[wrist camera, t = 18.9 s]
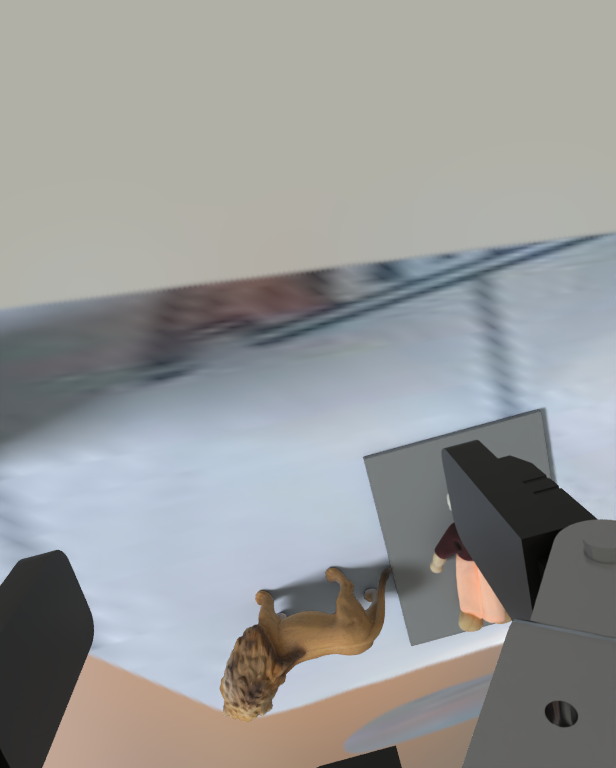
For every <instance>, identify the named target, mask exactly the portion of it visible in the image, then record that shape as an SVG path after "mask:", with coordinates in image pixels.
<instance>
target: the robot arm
mask: <svg viewBox="0 0 616 768" xmlns="http://www.w3.org/2000/svg"><path fill="white" fill-rule="evenodd" d="M441 457H442V463H443V469H444V474H445V479H446V484H447V489H448V494H449V500H450V505H451V510H452V515H453V519H454V523H455V526H456V529H457V532H458V535H459V537H460V539H461V541H462V543H463V545H464V547H465V548H466V550H467V551H468V553H469V555H470V556H471V558H472V559H473V561H474V562H475V564H476V565H477V567H478V569H479V570H480V572H481V573H482V575H483V576H484V578H485V579H486V581H487V582H488V584H489V586H490V587H491V589H492V590H493V592H494V593H495V595H496V596H497V598H498V600H499V601H500V603H501V604H502V606H503V607H504V609H505V610H506V612H507V613H508V615H509V617H510V618H511V620H512V623H511V625H510V627H509V630H508V632H507V635H506V638H505V641H504V644H503V647H502V650H501V653H500V656H499V659H498V662H497V665H496V668H495V671H494V674H493V677H492V680H491V683H490V686H489V689H488V692H487V695H486V698H485V701H484V704H483V706H482V709H481V712H480V715H479V718H478V721H477V724H476V727H475V730H474V733H473V736H472V739H471V742H470V745H469V748H468V751H467V754H466V757H465V760H464V763H463V766H462V768H616V521H615V520H602V519H601V520H598V519H597V518H595V517H594V516H593V515H592V514H591V513H590V512H589V511H587V510H586V509H585V508H584V507H583V506H582V505H580V504H579V503H578V502H577V501H576V500H575V499H573V498H572V497H571V496H570V495H569V494H568V493H566V492H565V491H564V490H563V489H562V488H560V489H559V486H558V485H557V484H556V483H555V482H554V481H552V480H551V479H550V478H547V476H546V475H545V474H544V473H543V472H542V471H541V470H540V469H538V468H537V467H536V466H535V465H534V464H533V463H531V462H528V461H525V460H522V459H519V458H516V457H514V456H511V455H509V456H505V457H501V458H497V457H496V456H495V455H494V454H493V453H492V452H491V451H490V450H489V449H487V448H486V447H485V446H484V445H483V444H482V443H481V442H480V441H479V440H473V441H469V442H465V443H462V444H458V445H454V446H450V447H447V448H443V449H442V451H441ZM93 636H94V624H93V618H92V614H91V611H90V608H89V606H88V604H87V601H86V599H85V597H84V594H83V592H82V590H81V587H80V585H79V583H78V580H77V578H76V576H75V573H74V571H73V569H72V566H71V564H70V562H69V560H68V558H67V556H66V555H65V554H64V552H62V551H60V550H55V551H51V552H47V553H44V554H40V555H36V556H32V557H28V558H25V559H21V560H20V561H18V562H17V564H16V565H15V566H14V568H13V569H12V571H11V572H10V573H9V575H8V576H7V577H6V579H5V580H4V582H3V583H2V584H1V586H0V768H42V767H43V764H44V762H45V760H46V757H47V754H48V752H49V750H50V747H51V744H52V742H53V740H54V737H55V734H56V732H57V730H58V727H59V725H60V722H61V720H62V717H63V715H64V712H65V710H66V707H67V705H68V702H69V700H70V697H71V695H72V692H73V690H74V687H75V685H76V682H77V680H78V677H79V675H80V673H81V670H82V668H83V665H84V663H85V660H86V658H87V655H88V653H89V650H90V648H91V645H92V642H93ZM317 768H402V767H401V764H400V760H399V756H398V752H397V748H396V746H392V747H388V748H385V749H381V750H377V751H374V752H370V753H366V754H363V755H359V756H355V757H352V758H348V759H345V760H341V761H337V762H334V763H330V764H326V765H323V766H319V767H317Z"/></svg>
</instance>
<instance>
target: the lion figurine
mask: <svg viewBox="0 0 616 768" xmlns="http://www.w3.org/2000/svg"><path fill="white" fill-rule="evenodd" d="M391 572H392V567H389V568H387V569H384V570H383V572H382V574H381V577H380V580H379V589H378V590H377V589H368V590H366V591H365V594H364V599H366V600H367V601H369V602H372V604H371V605H370V607H369V608H368V609H367V610H364V609H363V607H362V606H361V604H360V603H359V602H358V600H357V599H356V597H355V596H354V594H353V587H354V586H353V583H352V582H351V581H350V580H348V579H347V578H346V577H345V576H344V575H343V573H342V572H341V571H340V570H338V569H336V568H329V569H327V571H326V572H325V574H326V578H327V580H328V581H329V582H338V583H339V584H340V586H341V589H340V592H339V595H338V598H337V600H336V612H335V613H334V614H328V613H324V612H319V611H304V612H299V613H296V614H293V615H291V616H288V617H287V616H286V615H285V614H284V613H279V614H276V613H275V611H274V600H273V598H272V597H271V595H270V594H269V593H268V592H266V591H259V592H258V593H257V594H256V598H255V600H256V602H257V604H258V605H261V609H260V613H259V623H258V625H254V626H252V627H249V628H247V629H246V630H245V631H244V633H243V636H242V637H239V638H238V639H237V641H236V643H235V646H234V649H233V650H232V653H231V655H230V658H229V660H228V661H227V665H226V669H225V673H224V677H223V678H222V679H221V685H220V691H221V694H222V696H223V698H224V707H223V713H224V715H225V716H230V715H231V717H232V718H233V719H239V720H241V721H246V722H249V721H251V720H252V719H254V718H257V716H258V715H264V714H266V713H267V712H268V711H270V710H271V709H272V706H273V705H272V699H273V698H274V696H275V694H276V692H277V690H278V687H279V686H280V685H281V684H283V683H284V682H285V678H286V674H287V673H288V672H289V671H290V670H291V669H292V668H293V667H294V666H295V665H297V664H299V663H301V662H304V661H306V660H310V659H315V658H318V657H321V656H324V655H329V654H342V655H357V654H361V653H363V652H364V651H366V650H368V649H369V648H370V647H371V646H372V645H373V642H374V640H375V639H376V638H377V636H378V635H379V633H380V631H381V629H382V626H383V623H384V617H385V597H384V592H385V585H386V581H387V579H388V578H389V575H390V573H391Z"/></svg>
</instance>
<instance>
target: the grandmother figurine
mask: <svg viewBox="0 0 616 768" xmlns="http://www.w3.org/2000/svg"><path fill="white" fill-rule="evenodd" d="M447 503H448V505H449V509H450V510H451V505H450V500H449V494H447ZM451 511H452V510H451ZM456 553H457V555H456V579H457V590H458V597H459V603H460V609H461V610H460V614H459V622H458V623H459V626H460V628H461V629H462V630H464V631H467V632H474V631H478V630H480V629H481V628H482V627H483V624H484V622H483V619H484V620H486V621H487V622H490V623H497V624H504V623H507V622H510V621H511V618H510V617H509V615H508V613H507V612H506V610H505V609H504V607H503V606H502V604H501V603H500V601H499V600H498V598H497V596H496V595H495V593H494V592H493V590H492V589H491V587H490V586H489V584H488V582H487V581H486V579H485V578H484V576H483V575H482V573H481V572H480V570H479V569H478V567H477V565H476V564H475V562H474V561H473V559H472V558H471V556H470V555H469V553H468V551H467V550H466V548H465V547H464V545H463V543H462V541H461V539H460V537H459V535H458V532H457V529H456V526H455V523H452V524H451V525H450V526H449V527H448V529H447V530H446V532H445V533H444V535H443V536H442V538H441V540H440V541H439V543H438V544H437V546H436V547H435V552H434V555H433V561H432V562H431V564H430V569H431V570H432V572H434V573H440V572H442V570H443V565H444V564H445V562H446V559H447V558H448V557H449V556H452V555H454V554H456Z"/></svg>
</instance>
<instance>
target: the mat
mask: <svg viewBox="0 0 616 768" xmlns="http://www.w3.org/2000/svg"><path fill="white" fill-rule="evenodd" d="M473 440H479V441H480V442H481V443H482V444H483V445H484V446H485V447H486V448H487V449H489V450H490V451H491V452H492V453H493V454H494V455H495V456H496V457H497V458H501V457H505V456H509V455H511V456H514V457H516V458H519V459H522V460H525V461H528V462H531V463H533V464H534V465H535V466H536V467H537V468H538V469H540V470H541V471H542V472H543V473H544V474H545V475H546V476H547V478H550V479H551V475H550V468H549V462H548V455H547V448H546V441H545V435H544V428H543V421H542V414H541V411H540V410H534V411H530V412H527V413H523V414H519V415H516V416H512V417H508V418H505V419H501V420H497V421H494V422H490V423H486V424H483V425H479V426H475V427H472V428H468V429H464V430H461V431H457V432H453V433H450V434H446V435H442V436H439V437H435V438H431V439H428V440H424V441H420V442H417V443H413V444H409V445H405V446H402V447H398V448H394V449H391V450H387V451H383V452H380V453H376V454H372V455H369V456H365V457H363V458H364V462H365V466H366V470H367V474H368V478H369V482H370V486H371V490H372V494H373V498H374V502H375V506H376V510H377V513H378V517H379V521H380V525H381V529H382V533H383V537H384V541H385V545H386V549H387V553H388V557H389V561H390V565H391V567H392V573H393V577H394V581H395V585H396V588H397V592H398V596H399V600H400V604H401V608H402V612H403V616H404V620H405V624H406V628H407V632H408V636H409V640H410V643H411V646H414V645H418V644H422V643H425V642H429V641H433V640H436V639H440V638H444V637H448V636H451V635H455V634H459V633H462V632H466V631H464V630H462V629H461V628H460V626H459V623H458V622H459V614H460V610H461V609H460V603H459V597H458V590H457V579H456V555H457V553H456V554H454V555H452V556H449V557H448V558H447V559H446V562H445V564H444V565H443V570H442V572H440V573H434V572H432V570H431V569H430V564H431V562H432V561H433V555H434V552H435V547H436V546H437V544H438V543H439V541H440V540H441V538H442V536H443V535H444V533H445V532H446V530H447V529H448V527H449V526H450V525H451V524H452V523H454V519H453V515H452V511H451V510H450V509H449V505H448V503H447V494H448V489H447V484H446V479H445V474H444V469H443V463H442V457H441V451H442V449H443V448H447V447H450V446H454V445H458V444H462V443H465V442H469V441H473ZM483 622H484V624H483V627H484V626H488V625H492V624H495V623H490V622H487V621H486V620H484V619H483Z"/></svg>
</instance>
